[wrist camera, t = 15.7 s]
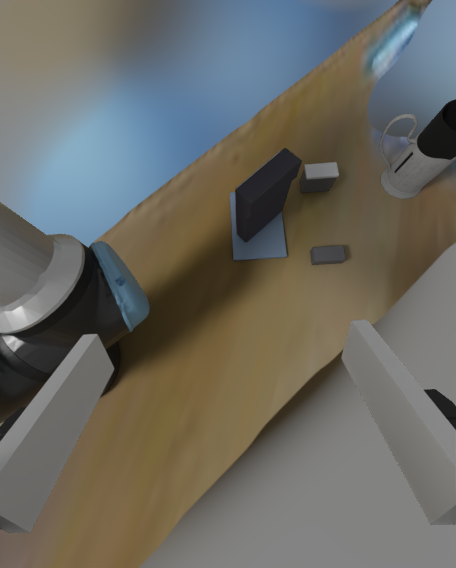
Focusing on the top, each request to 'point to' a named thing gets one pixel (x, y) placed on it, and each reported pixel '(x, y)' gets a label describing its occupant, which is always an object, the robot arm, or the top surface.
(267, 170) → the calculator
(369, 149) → the top surface
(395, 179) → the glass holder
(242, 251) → the rubber mat
